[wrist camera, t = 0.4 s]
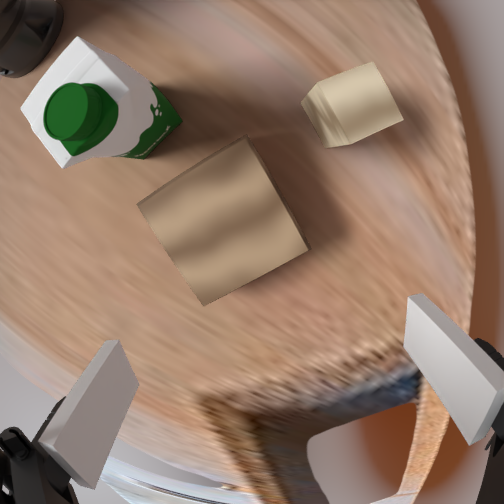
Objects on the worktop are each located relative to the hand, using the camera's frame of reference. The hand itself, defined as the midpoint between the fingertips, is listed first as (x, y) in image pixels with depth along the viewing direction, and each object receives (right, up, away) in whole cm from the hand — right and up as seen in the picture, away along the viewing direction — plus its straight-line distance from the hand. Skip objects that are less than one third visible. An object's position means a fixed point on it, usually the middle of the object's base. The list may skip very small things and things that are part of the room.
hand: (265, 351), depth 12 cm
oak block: (+10, +21, +21) cm, 31 cm away
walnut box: (-4, +9, +25) cm, 27 cm away
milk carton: (-14, +21, +21) cm, 33 cm away
